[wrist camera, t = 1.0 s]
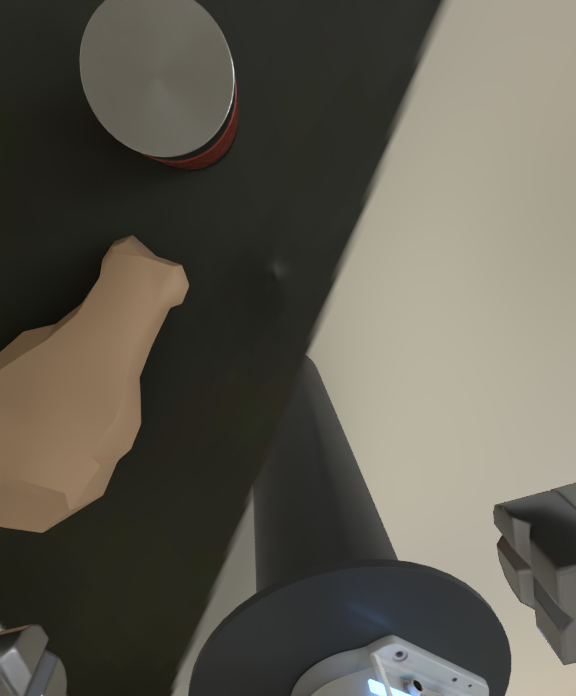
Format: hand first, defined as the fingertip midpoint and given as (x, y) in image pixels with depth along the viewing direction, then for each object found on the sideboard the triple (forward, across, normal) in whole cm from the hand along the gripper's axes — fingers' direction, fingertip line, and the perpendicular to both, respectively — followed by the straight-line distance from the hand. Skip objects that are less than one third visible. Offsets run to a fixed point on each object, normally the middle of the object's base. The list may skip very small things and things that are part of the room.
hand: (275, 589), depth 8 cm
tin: (+25, -1, +12) cm, 28 cm away
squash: (+26, -12, -1) cm, 29 cm away
